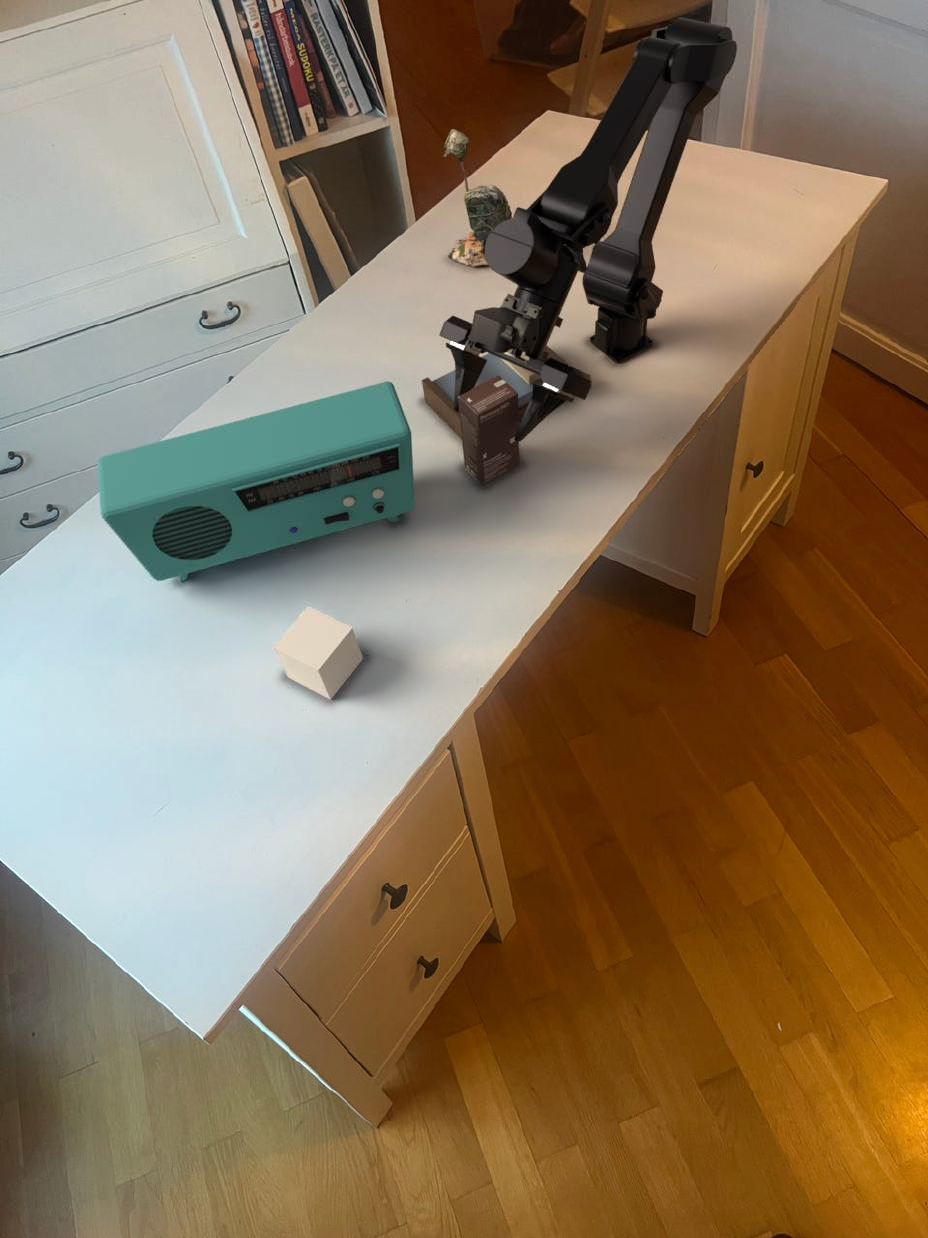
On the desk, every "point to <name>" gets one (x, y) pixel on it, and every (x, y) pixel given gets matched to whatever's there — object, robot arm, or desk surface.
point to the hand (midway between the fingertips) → (486, 426)
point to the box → (489, 429)
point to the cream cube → (318, 652)
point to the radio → (260, 482)
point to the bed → (449, 405)
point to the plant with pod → (476, 209)
